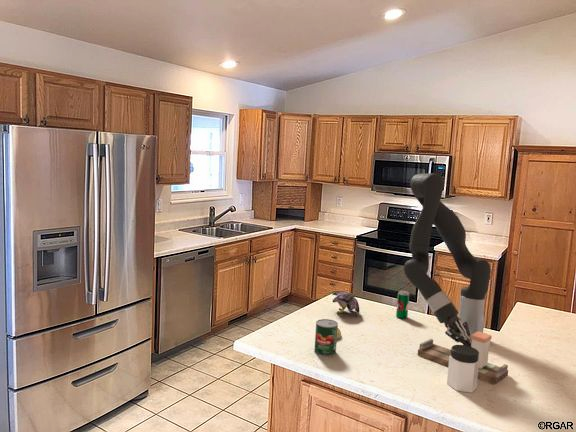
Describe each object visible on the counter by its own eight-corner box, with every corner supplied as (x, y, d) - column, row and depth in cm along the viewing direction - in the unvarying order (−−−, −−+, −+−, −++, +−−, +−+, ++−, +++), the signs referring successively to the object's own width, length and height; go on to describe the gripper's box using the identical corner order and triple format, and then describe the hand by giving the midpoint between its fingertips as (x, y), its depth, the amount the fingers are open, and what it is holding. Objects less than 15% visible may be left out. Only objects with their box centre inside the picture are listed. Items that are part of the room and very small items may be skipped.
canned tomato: (316, 357, 158) (318, 327, 156) (312, 347, 165) (313, 319, 164) (338, 356, 159) (340, 326, 157) (333, 347, 166) (334, 318, 165)
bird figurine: (369, 298, 198) (338, 287, 197) (362, 323, 196) (330, 312, 195) (361, 297, 212) (331, 287, 212) (354, 321, 210) (324, 310, 210)
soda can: (407, 319, 201) (409, 293, 199) (396, 318, 202) (398, 292, 200) (407, 316, 206) (409, 290, 204) (395, 314, 207) (397, 289, 205)
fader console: (417, 354, 163) (418, 344, 163) (431, 348, 170) (432, 338, 170) (495, 384, 143) (496, 372, 143) (507, 375, 150) (508, 364, 150)
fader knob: (468, 364, 152) (471, 334, 151) (475, 359, 156) (478, 331, 154) (481, 369, 149) (484, 339, 147) (488, 364, 152) (491, 335, 151)
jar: (453, 376, 147) (457, 341, 146) (479, 385, 142) (483, 349, 141) (443, 386, 141) (446, 349, 139) (469, 395, 135) (473, 358, 134)
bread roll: (318, 339, 174) (319, 329, 173) (321, 331, 183) (321, 321, 182) (340, 342, 172) (340, 332, 172) (341, 333, 181) (342, 324, 181)
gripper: (440, 305, 154) (471, 351, 147) (458, 298, 163) (488, 341, 156) (425, 315, 158) (455, 360, 151) (443, 308, 168) (472, 350, 160)
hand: (472, 350), depth 154 cm, fingers closed
